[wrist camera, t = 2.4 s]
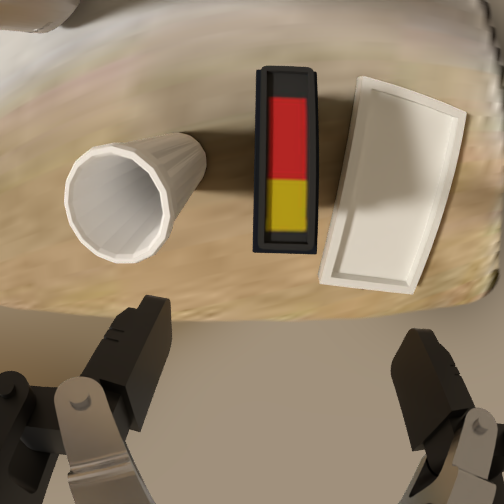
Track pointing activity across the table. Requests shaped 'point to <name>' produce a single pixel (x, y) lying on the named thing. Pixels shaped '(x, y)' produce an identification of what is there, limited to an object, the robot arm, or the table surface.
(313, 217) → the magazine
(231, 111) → the table surface
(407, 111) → the cradle
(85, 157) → the cup
